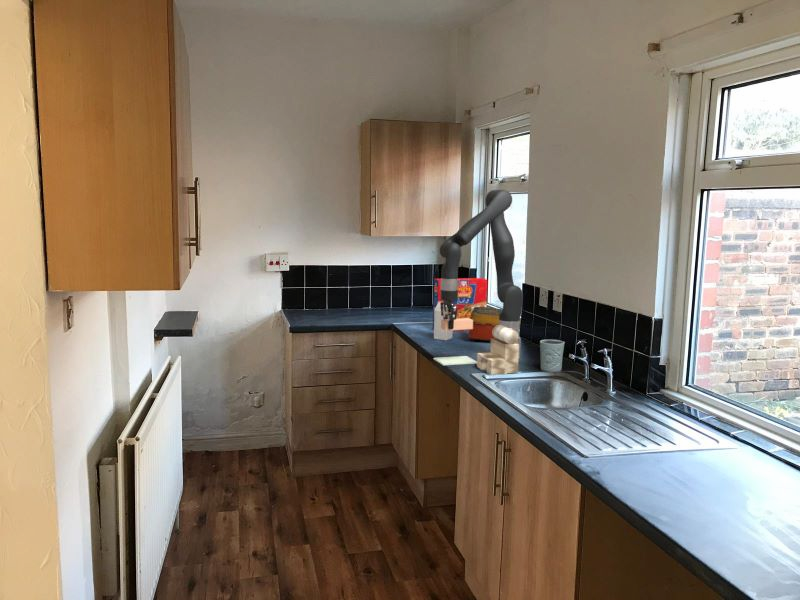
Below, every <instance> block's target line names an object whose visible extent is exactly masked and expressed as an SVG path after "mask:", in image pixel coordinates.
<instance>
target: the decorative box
mask: <svg viewBox="0 0 800 600" xmlns="http://www.w3.org/2000/svg"><path fill="white" fill-rule="evenodd" d="M502 311H503V308H495V307H494V308H493V307H487V306H486V307H474V309H473V310H472V312H471V317H470V319H472V320H473V329H469V330H470V331H468V332H469V333H468V339H470V341H473V342H476V341H482V342H483V341H484V342H487V343H491V339H494V337H493V335H492V330H493V328H494V327H495V326H496V325H499V314H500V313H501V312H502Z"/></svg>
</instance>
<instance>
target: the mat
mask: <svg viewBox="0 0 800 600" xmlns="http://www.w3.org/2000/svg"><path fill="white" fill-rule="evenodd" d="M433 360H434V361H435V362H437V363H439V364H440V365H442V366H452V365H453V366H455V365H457V366H458V365H472V364H476V365H477V360H475V359H473V358H472V357H469V356H467V355H460V356H442V357H433Z"/></svg>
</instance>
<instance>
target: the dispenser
mask: <svg viewBox="0 0 800 600" xmlns="http://www.w3.org/2000/svg"><path fill="white" fill-rule="evenodd" d="M492 335H493V337H494V339H491V342H490V351H489V352H477V353H476V355H477V356H476V361H477V363H476V368H478V369H479V368H480V370H486V374H488V373H489V374H488V375H490V374H492V375H491V376H494V375H493V374H501V375H508V374H507V373H516V374H518V373H519V358H518V357H519V344H516V342H517V340H518V333H517V332H516V331H514V330H512V329H509V328H507V327H504V326H502V325H496V326H495V327H494V328H493V330H492Z"/></svg>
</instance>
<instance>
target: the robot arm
mask: <svg viewBox="0 0 800 600" xmlns="http://www.w3.org/2000/svg"><path fill="white" fill-rule="evenodd" d="M512 203H513V196H512V194H511V193H510V191H508V190H506V189H492V190H490V191H488V192H487V194H486V196H485V206H486V207H485V208H484V209H483V210H481V211H480V212H479V213H477V214H476V215H475V216H473V217H472V218H470V219H469V220H468V221H466V223H464V224H463V225H462V226H461V227H460V228H459V229H458V231H457V232H455V233H454V234H452V235H451V236H450V237H448V238H447V239H446V240H444V241H443V242H442V243H441V245H440V247H439V254H440V256H441V257H443V258H444V259H445V263H444V264H443V265H442V266H441V276H440V277H441V278H440V279H441V291H440V299H441V300H444V302H441V303H440V305H441V316H443V319H448V329H453V328H454V320H456V317H457V310H458V307H457V306H455V304H454V301H455V300H457V299H458V278H459V277H458V276H459V267H460V262H461V258H462V249H461V248H462V247H463V246H467V245H469V243H471V241H472V240H474V238H476V237H477V235H478V234H480V232H482V230H483V229H484V228H486V226H488V225H489V226H490V236H491V240H492V241H491V242H492V251H493V257H494V258H493V260H494V263H495V271H496V292H497V298H498V300H499V301H500V303H502V309H503V311H502V312H501V313H500V314H499V325H502V326H504V327H507V328H509V329H512V330H514V331H516V332H517V333H518V340H517V342H516V344H519V357H518V359H520V358H521V344H522V343H521V341H522V339H521V337H520V322H521V321H520V320H521V316H522V313H523V303H524V293H523V290H522V289H521V287H520V286H518V285H516V284H515V283H514V279H513V267H514V262H515V256H516V253H515V245H514V239H513V236H512V234H511V231H510V230H509V227H508V225H507V223H506V219H505V213H504V212H506V210H508V209H509V208H510V207H511V206H512ZM454 315H455V316H454Z"/></svg>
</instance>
